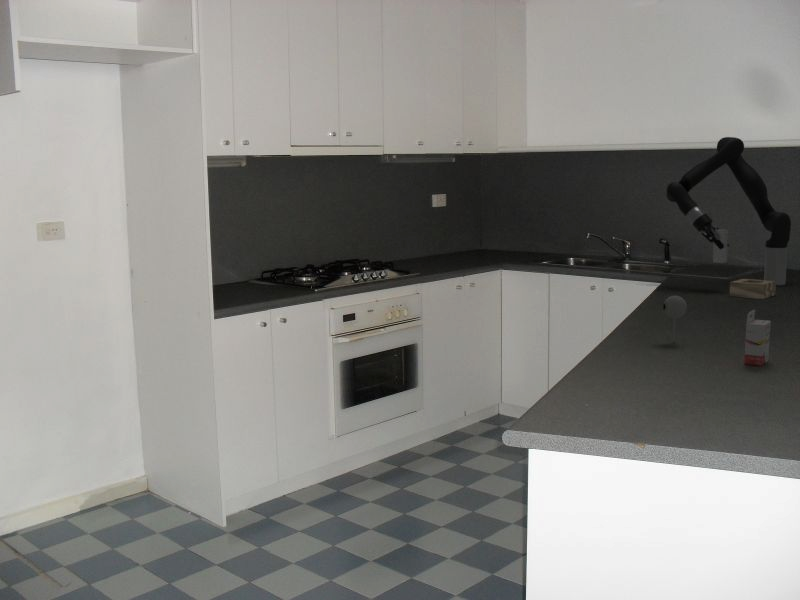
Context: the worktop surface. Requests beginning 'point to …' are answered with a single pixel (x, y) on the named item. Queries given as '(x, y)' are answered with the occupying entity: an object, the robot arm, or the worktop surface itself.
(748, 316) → the ink cartridge box
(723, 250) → the grey square pillar
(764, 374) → the worktop surface
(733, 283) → the well block
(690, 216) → the robot arm
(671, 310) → the lollipop
